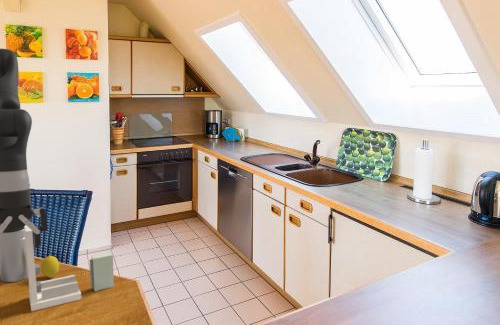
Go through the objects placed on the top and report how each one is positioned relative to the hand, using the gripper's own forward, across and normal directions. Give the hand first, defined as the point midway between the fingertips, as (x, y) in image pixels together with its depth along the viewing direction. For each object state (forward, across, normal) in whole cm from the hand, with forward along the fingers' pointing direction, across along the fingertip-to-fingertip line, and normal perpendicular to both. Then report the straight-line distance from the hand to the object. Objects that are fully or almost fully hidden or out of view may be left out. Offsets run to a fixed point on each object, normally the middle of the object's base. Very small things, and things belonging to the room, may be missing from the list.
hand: (17, 251), depth 101 cm
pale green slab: (+21, -24, -16) cm, 35 cm away
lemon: (+19, -11, -32) cm, 38 cm away
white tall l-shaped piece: (+21, -10, -16) cm, 28 cm away
